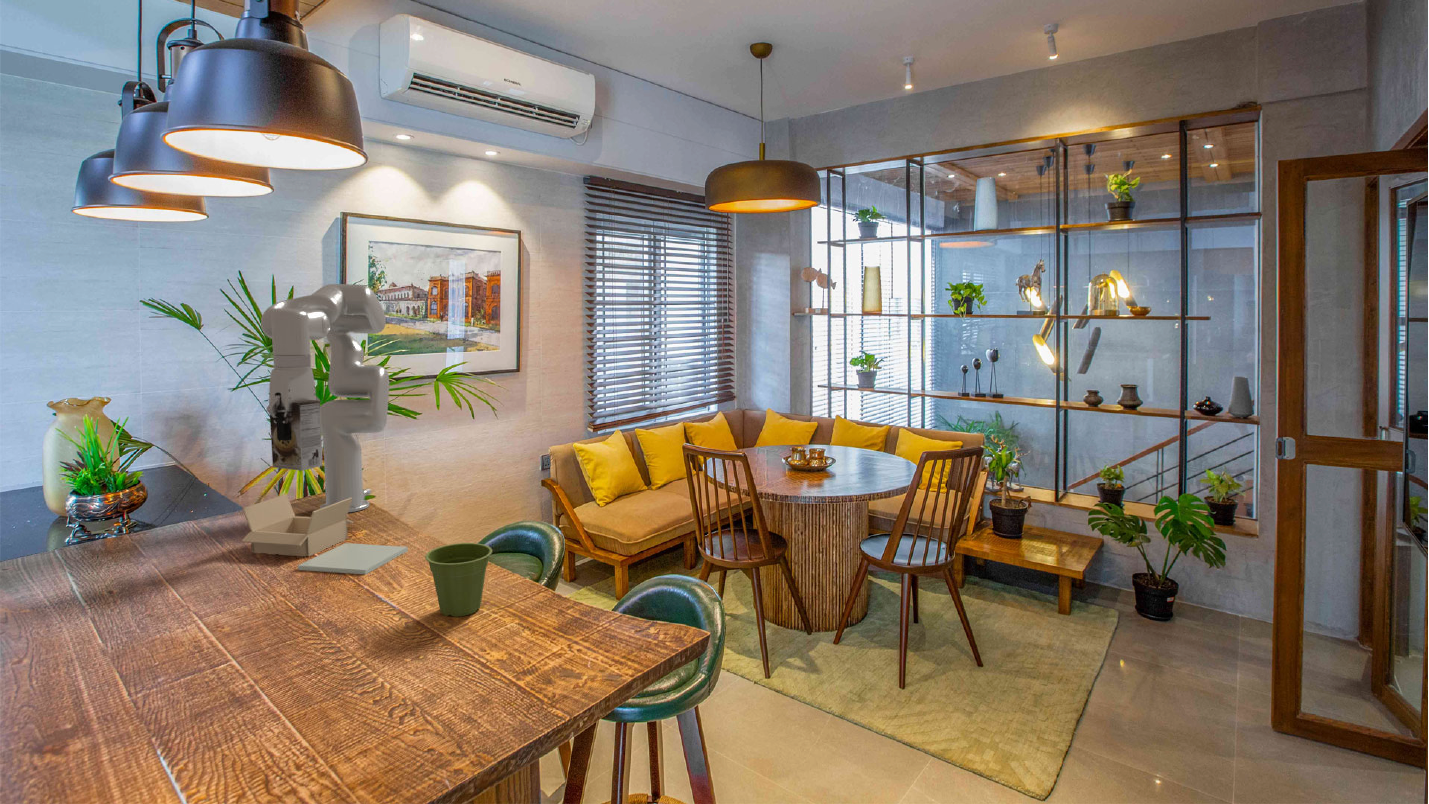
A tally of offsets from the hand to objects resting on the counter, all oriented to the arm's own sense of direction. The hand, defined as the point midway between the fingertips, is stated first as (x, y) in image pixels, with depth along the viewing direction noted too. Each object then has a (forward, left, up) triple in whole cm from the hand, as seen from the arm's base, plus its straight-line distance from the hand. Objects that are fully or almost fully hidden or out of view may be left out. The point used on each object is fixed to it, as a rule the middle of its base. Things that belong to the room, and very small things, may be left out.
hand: (296, 436), depth 165 cm
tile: (+7, +19, -27) cm, 34 cm away
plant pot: (+29, +56, -27) cm, 69 cm away
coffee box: (0, 0, -8) cm, 8 cm away
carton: (0, 0, -27) cm, 27 cm away
